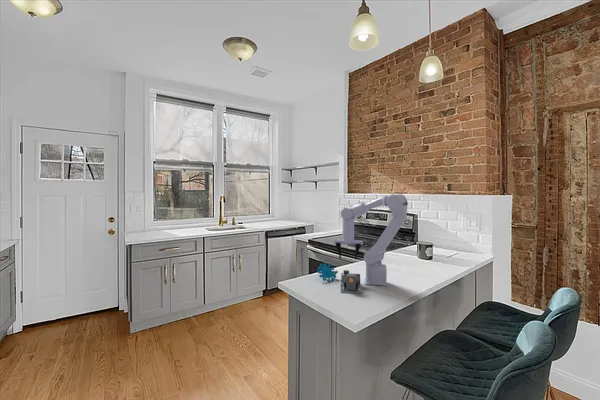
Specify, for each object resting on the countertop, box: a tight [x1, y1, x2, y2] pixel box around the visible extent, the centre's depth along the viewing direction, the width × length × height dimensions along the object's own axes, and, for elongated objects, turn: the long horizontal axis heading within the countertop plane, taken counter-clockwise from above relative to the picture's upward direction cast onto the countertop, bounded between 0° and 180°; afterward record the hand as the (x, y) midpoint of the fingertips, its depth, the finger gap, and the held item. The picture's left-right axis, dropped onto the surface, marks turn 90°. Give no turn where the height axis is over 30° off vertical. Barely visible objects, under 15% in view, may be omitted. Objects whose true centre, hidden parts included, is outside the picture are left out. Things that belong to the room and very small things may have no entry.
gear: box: [316, 262, 339, 283], centre depth 142 cm, size 11×6×10 cm
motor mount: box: [340, 269, 363, 295], centre depth 128 cm, size 9×12×7 cm
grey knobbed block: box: [346, 273, 357, 290], centre depth 125 cm, size 4×5×6 cm
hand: (347, 258), depth 145 cm, fingers open, 7 cm apart
